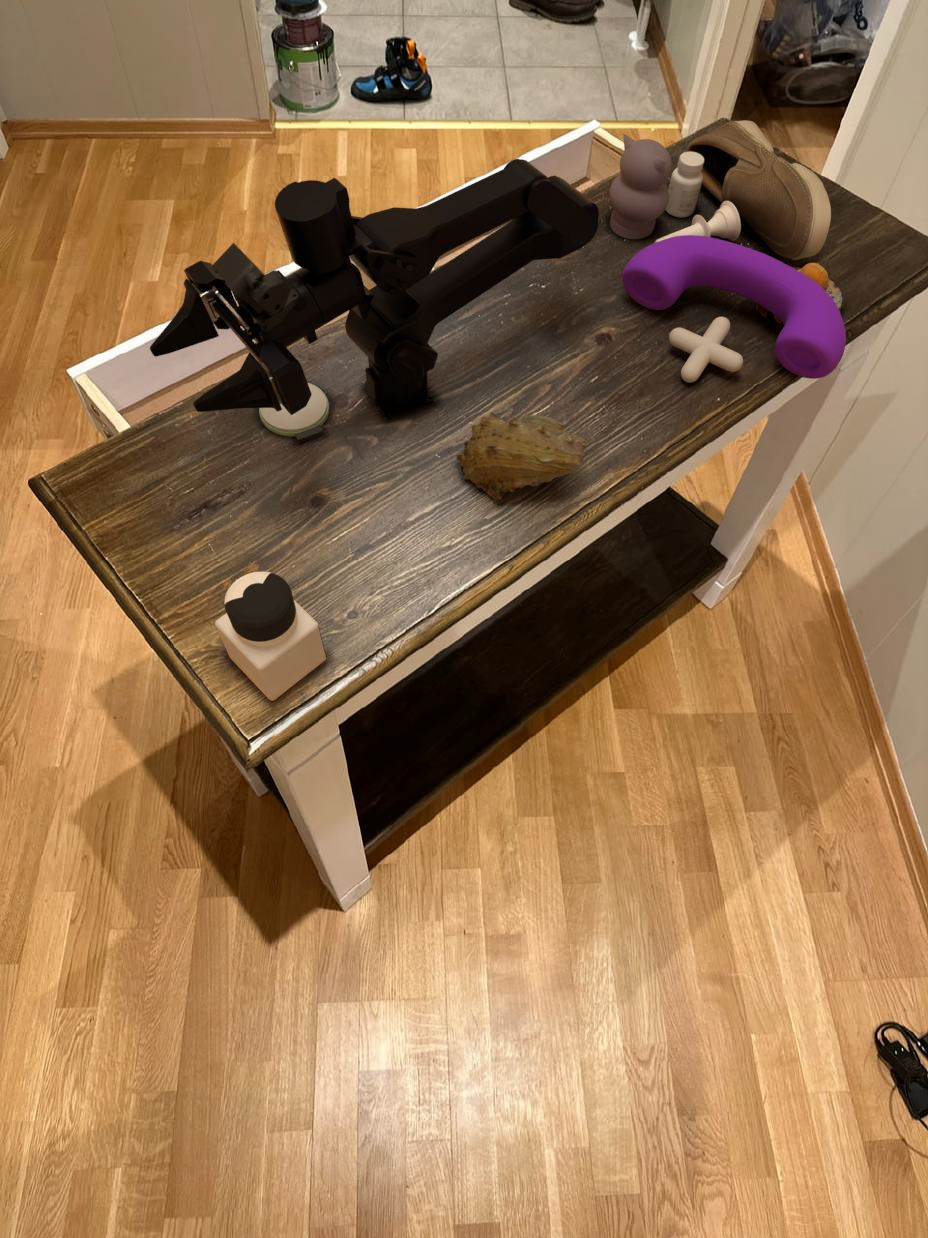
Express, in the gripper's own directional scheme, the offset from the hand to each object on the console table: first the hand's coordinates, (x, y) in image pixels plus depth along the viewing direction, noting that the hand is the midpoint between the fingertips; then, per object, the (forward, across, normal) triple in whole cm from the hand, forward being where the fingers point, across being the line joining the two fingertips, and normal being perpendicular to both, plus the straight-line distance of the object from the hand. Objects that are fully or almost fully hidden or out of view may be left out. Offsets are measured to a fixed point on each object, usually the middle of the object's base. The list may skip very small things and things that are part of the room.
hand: (173, 379), depth 85 cm
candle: (-78, +2, +25) cm, 82 cm away
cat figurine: (-69, -8, +27) cm, 74 cm away
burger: (-76, +17, +28) cm, 82 cm away
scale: (-12, -5, +18) cm, 22 cm away
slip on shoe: (-87, +2, +24) cm, 90 cm away
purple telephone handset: (-68, +8, +15) cm, 70 cm away
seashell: (-27, +19, +21) cm, 39 cm away
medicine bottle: (+7, +23, +16) cm, 29 cm away
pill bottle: (-77, -7, +28) cm, 82 cm away
